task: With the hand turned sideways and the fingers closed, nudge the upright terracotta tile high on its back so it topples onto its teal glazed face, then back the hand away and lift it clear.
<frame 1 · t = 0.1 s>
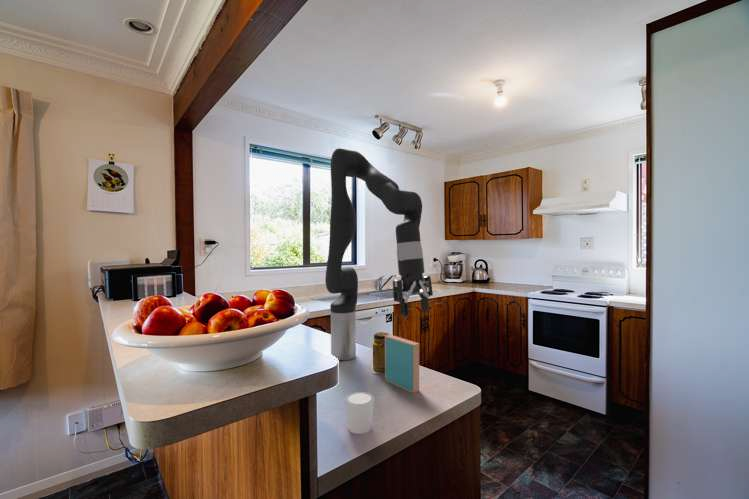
hand: (415, 313, 99), 22 cm above the countertop, tool pointing down, fingers open, 8 cm apart
tile: (401, 385, 102), on the countertop
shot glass: (359, 427, 80), on the countertop
condiment: (384, 369, 115), on the countertop
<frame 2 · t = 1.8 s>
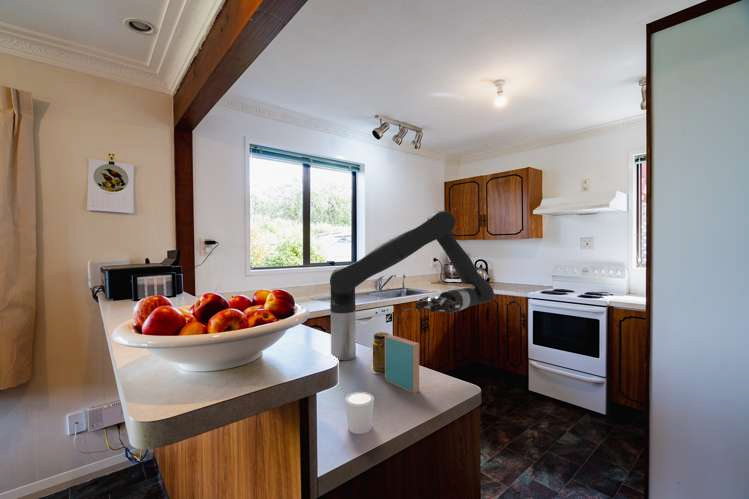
hand: (423, 307, 108), 22 cm above the countertop, tool horizontal, fingers open, 5 cm apart
nothing on the countertop moved.
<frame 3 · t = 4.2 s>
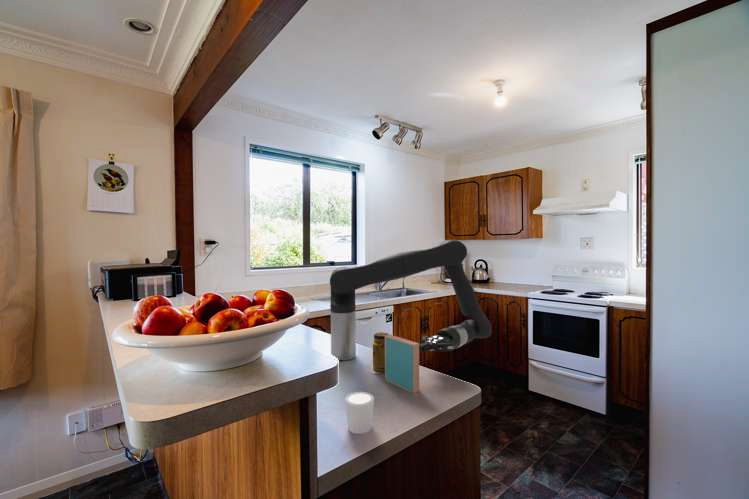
hand: (420, 349, 108), 9 cm above the countertop, tool horizontal, fingers closed
nothing on the countertop moved.
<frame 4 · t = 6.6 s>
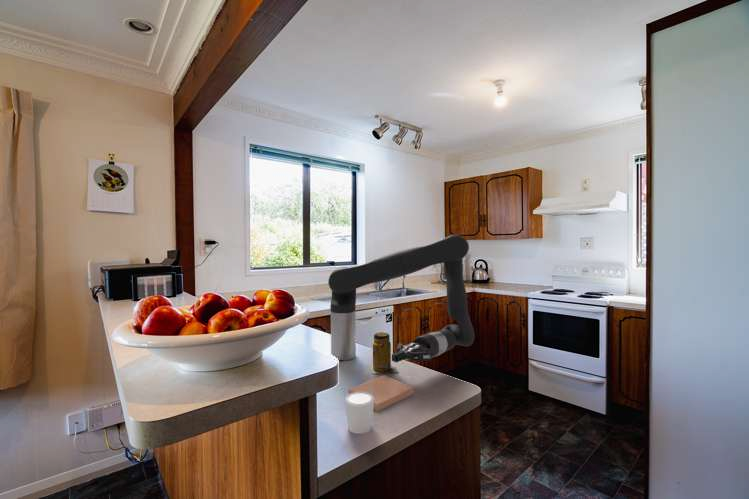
hand: (393, 358, 100), 9 cm above the countertop, tool horizontal, fingers closed
tile: (398, 384, 101), point 1 cm above the countertop, tilted 90°
everything else where it was.
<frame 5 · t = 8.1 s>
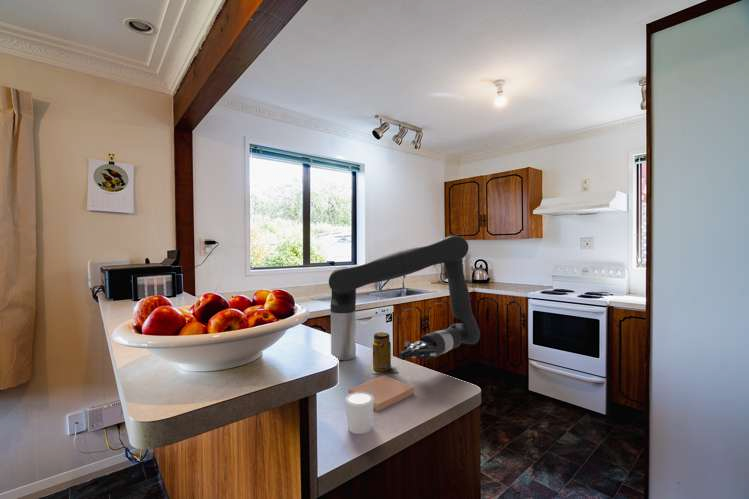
hand: (400, 356, 102), 9 cm above the countertop, tool horizontal, fingers closed
nothing on the countertop moved.
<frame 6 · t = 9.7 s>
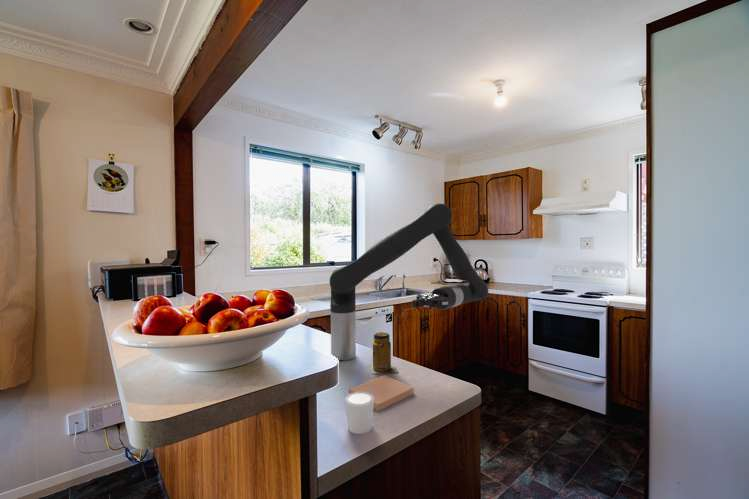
hand: (414, 304, 105), 24 cm above the countertop, tool horizontal, fingers closed
nothing on the countertop moved.
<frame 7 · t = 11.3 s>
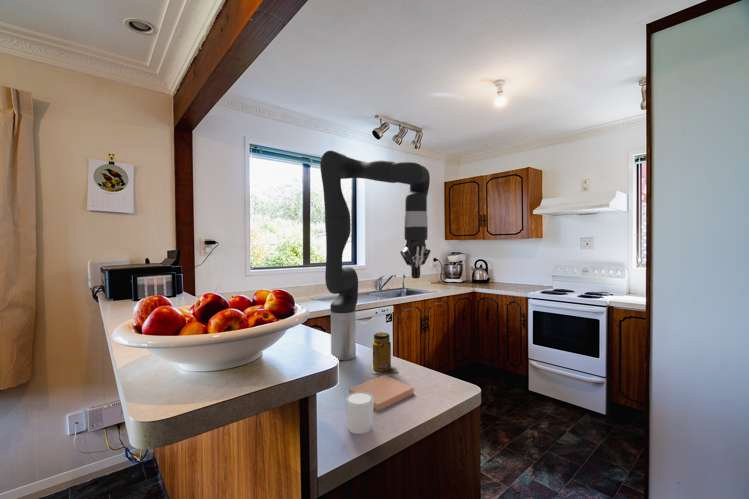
hand: (415, 278, 112), 31 cm above the countertop, tool pointing down, fingers closed
nothing on the countertop moved.
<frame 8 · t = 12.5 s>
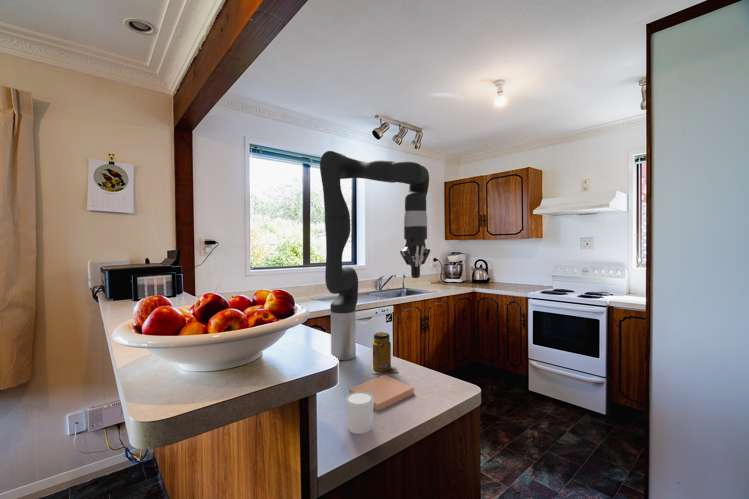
hand: (415, 277, 112), 31 cm above the countertop, tool pointing down, fingers closed
nothing on the countertop moved.
at the end: tile tilted 90°; tile inside the target area (0.8 cm from its centre), point 0.6 cm above the countertop; the gripper is holding nothing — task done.
